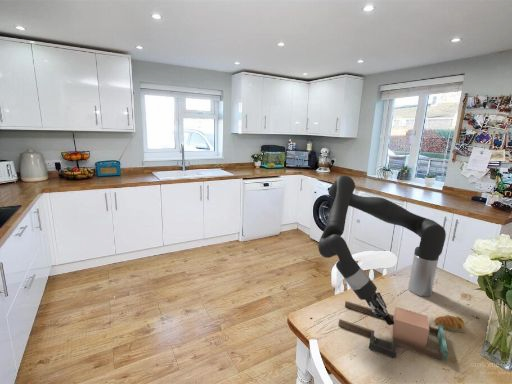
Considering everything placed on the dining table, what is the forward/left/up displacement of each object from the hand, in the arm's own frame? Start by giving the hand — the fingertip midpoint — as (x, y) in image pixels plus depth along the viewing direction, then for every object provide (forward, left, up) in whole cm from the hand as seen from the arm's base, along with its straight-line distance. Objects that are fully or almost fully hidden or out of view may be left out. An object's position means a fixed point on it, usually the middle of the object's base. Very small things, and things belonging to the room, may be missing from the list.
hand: (391, 323), depth 98 cm
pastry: (-15, +20, -4) cm, 25 cm away
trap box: (-1, -1, -3) cm, 4 cm away
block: (-1, +6, -3) cm, 7 cm away
